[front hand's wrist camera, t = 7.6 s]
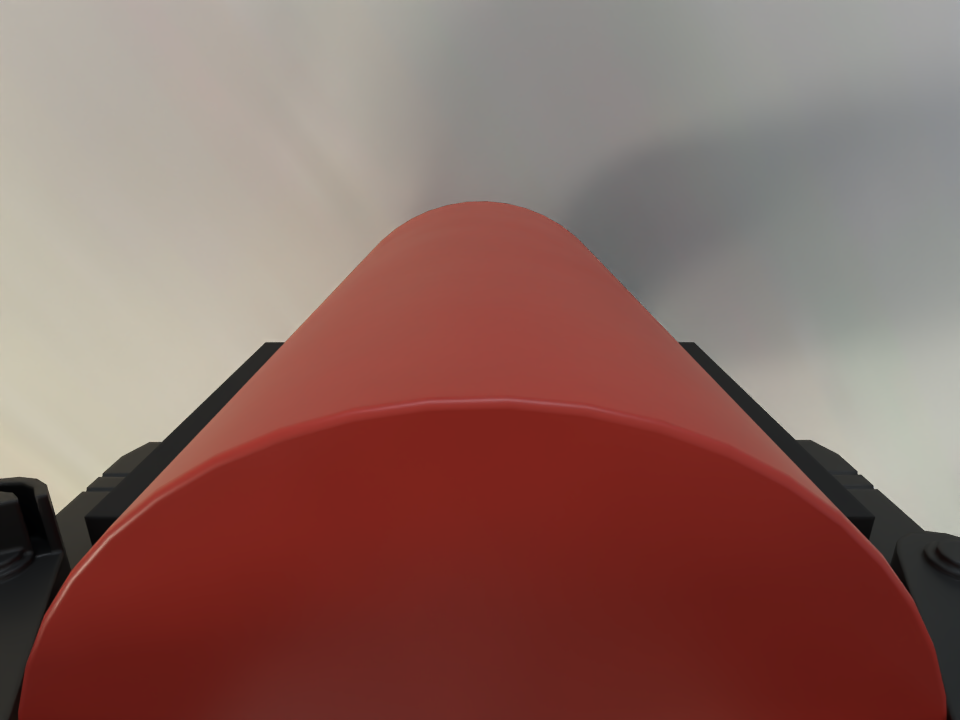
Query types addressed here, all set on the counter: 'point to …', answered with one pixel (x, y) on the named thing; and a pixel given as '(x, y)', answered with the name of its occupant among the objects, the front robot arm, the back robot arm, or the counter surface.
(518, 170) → the counter surface
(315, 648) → the cylinder
